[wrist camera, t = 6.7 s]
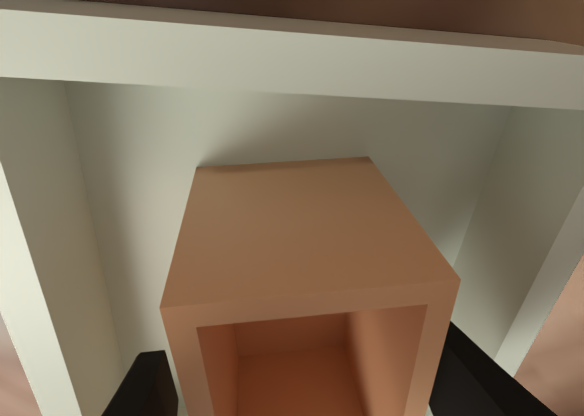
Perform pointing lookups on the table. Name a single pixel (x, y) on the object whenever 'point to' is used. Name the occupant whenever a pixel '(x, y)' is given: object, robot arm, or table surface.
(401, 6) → the table surface
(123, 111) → the big crate
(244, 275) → the box
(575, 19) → the table surface
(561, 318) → the table surface
